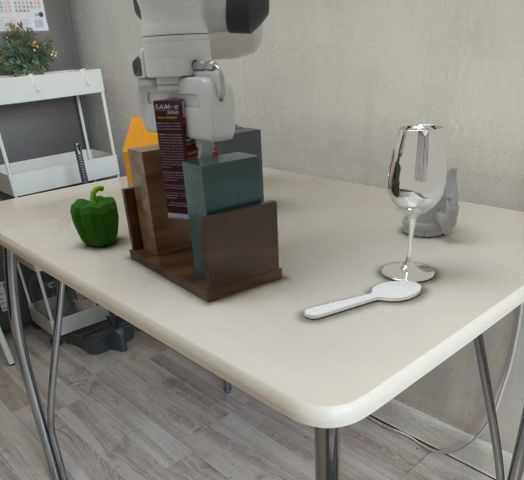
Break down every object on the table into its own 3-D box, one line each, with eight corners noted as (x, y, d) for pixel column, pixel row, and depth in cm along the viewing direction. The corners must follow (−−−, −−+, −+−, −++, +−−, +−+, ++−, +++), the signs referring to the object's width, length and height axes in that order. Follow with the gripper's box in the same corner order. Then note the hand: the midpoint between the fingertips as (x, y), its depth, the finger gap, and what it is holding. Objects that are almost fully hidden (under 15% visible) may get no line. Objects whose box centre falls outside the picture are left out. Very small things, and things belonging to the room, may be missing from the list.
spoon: (295, 308, 69) (295, 305, 69) (405, 279, 76) (405, 276, 75) (316, 324, 65) (316, 321, 65) (431, 292, 72) (431, 288, 71)
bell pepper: (85, 253, 93) (72, 196, 88) (73, 242, 100) (60, 188, 95) (131, 243, 97) (121, 188, 92) (116, 233, 103) (106, 180, 98)
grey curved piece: (429, 222, 99) (436, 155, 93) (471, 240, 89) (482, 166, 84) (393, 228, 97) (398, 160, 91) (432, 247, 87) (441, 172, 81)
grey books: (201, 209, 116) (192, 130, 108) (235, 201, 120) (229, 125, 112) (229, 219, 108) (222, 135, 100) (264, 210, 112) (260, 129, 105)
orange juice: (162, 217, 112) (147, 113, 102) (193, 222, 107) (181, 114, 97) (134, 227, 106) (115, 118, 96) (166, 233, 102) (150, 120, 92)
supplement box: (194, 221, 76) (179, 99, 69) (167, 219, 78) (149, 100, 71) (225, 206, 83) (214, 93, 75) (199, 204, 85) (186, 94, 77)
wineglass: (401, 287, 74) (415, 133, 64) (370, 269, 80) (378, 127, 70) (446, 276, 76) (466, 127, 67) (412, 260, 83) (426, 121, 73)
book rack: (130, 257, 90) (111, 149, 82) (196, 240, 97) (184, 138, 88) (208, 302, 73) (193, 170, 64) (282, 277, 79) (278, 154, 71)
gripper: (242, 58, 65) (249, 175, 72) (163, 61, 79) (175, 158, 86) (198, 61, 62) (210, 183, 68) (124, 64, 76) (140, 164, 83)
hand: (190, 169), depth 77 cm, fingers closed on supplement box, 6 cm apart
